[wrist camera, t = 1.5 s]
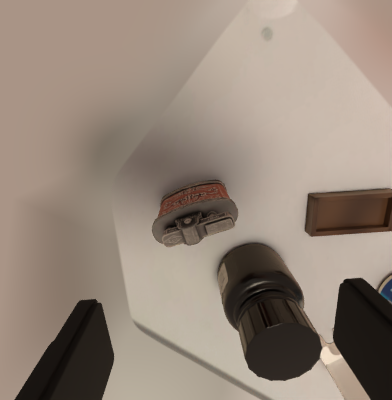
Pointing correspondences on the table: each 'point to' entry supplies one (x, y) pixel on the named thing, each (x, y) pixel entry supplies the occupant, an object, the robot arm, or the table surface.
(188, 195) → the lighter
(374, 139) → the table surface
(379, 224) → the tray
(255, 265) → the ink bottle
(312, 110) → the table surface
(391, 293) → the beverage bottle
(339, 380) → the white l-shaped piece
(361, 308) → the robot arm
